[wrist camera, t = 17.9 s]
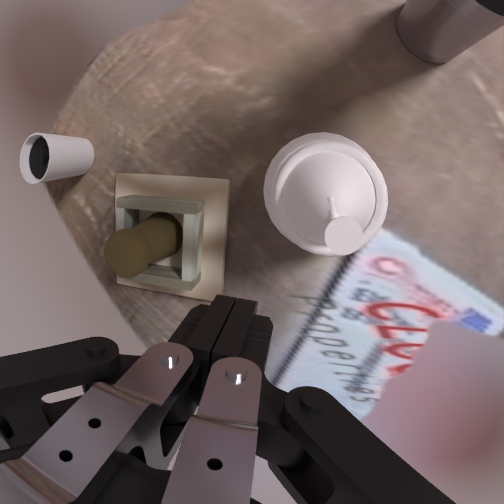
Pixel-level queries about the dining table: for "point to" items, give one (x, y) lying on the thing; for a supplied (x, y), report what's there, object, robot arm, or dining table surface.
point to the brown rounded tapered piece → (143, 244)
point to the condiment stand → (194, 230)
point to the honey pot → (325, 194)
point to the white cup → (54, 157)
